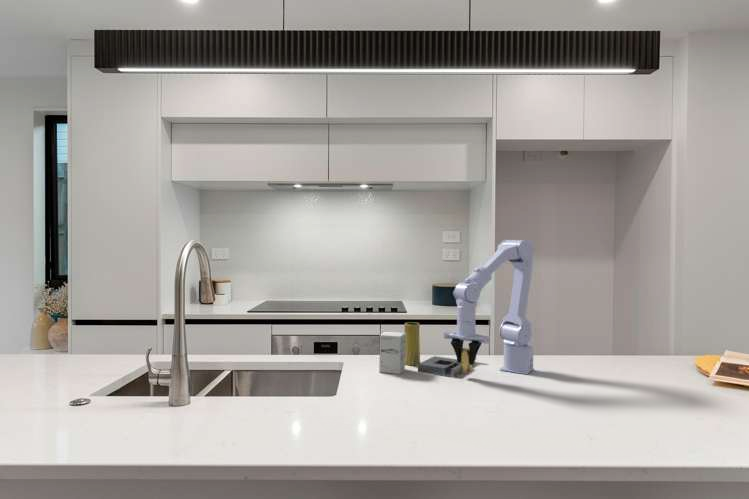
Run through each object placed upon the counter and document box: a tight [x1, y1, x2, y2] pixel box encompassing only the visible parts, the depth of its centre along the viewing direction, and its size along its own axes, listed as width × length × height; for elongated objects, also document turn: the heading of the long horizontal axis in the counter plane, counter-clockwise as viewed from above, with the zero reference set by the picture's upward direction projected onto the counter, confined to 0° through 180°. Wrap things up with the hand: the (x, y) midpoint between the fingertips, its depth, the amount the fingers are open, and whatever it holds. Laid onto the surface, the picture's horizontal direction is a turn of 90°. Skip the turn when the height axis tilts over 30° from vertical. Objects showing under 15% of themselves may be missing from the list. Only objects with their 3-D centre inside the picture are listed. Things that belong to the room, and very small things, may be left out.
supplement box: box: [378, 331, 406, 375], centre depth 171 cm, size 7×7×13 cm
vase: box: [404, 321, 421, 367], centre depth 181 cm, size 6×6×14 cm
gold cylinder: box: [460, 347, 473, 374], centre depth 163 cm, size 4×4×7 cm
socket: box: [417, 355, 463, 378], centre depth 173 cm, size 13×13×2 cm
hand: (465, 363), depth 163 cm, fingers closed on gold cylinder, 3 cm apart
